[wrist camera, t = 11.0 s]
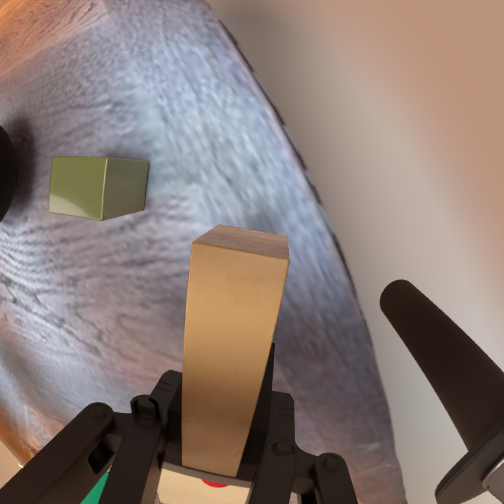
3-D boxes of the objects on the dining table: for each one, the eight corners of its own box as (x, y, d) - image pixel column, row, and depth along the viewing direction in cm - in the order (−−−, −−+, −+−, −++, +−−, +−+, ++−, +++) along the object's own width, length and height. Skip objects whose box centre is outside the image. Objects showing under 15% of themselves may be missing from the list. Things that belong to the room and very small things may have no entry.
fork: (210, 206, 14) (139, 232, 7) (313, 224, 14) (347, 270, 6) (190, 446, 19) (165, 516, 12) (251, 458, 19) (239, 532, 11)
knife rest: (149, 161, 15) (108, 157, 11) (144, 210, 16) (102, 221, 12) (98, 158, 16) (52, 156, 11) (93, 203, 16) (48, 212, 12)
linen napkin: (290, 480, 21) (290, 481, 21) (262, 522, 25) (262, 522, 25) (148, 451, 22) (148, 452, 22) (160, 501, 26) (160, 501, 26)
